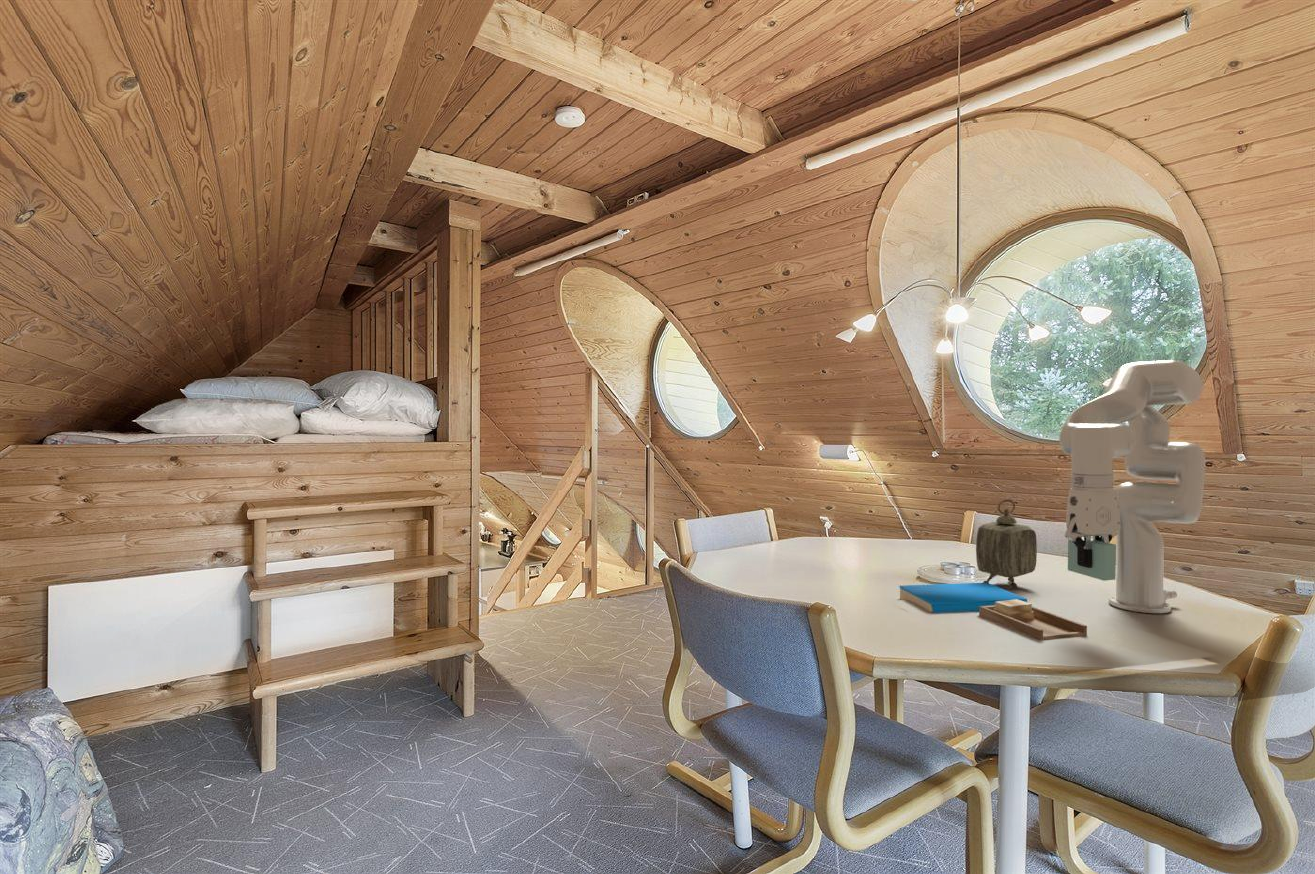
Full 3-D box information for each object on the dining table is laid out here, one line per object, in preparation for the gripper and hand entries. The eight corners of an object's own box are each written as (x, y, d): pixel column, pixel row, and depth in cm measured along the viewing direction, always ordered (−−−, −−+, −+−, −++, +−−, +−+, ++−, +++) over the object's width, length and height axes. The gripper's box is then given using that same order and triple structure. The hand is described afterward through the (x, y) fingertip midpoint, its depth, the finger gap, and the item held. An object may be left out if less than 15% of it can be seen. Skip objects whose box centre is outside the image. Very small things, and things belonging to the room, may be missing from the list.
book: (898, 585, 172) (985, 580, 174) (898, 601, 172) (986, 596, 174) (932, 603, 155) (1029, 597, 157) (933, 621, 155) (1029, 615, 157)
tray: (1021, 615, 155) (1022, 602, 155) (1086, 640, 138) (1086, 625, 138) (979, 619, 153) (979, 606, 153) (1039, 645, 135) (1039, 630, 135)
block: (1115, 579, 136) (1116, 544, 136) (1103, 580, 136) (1104, 545, 135) (1078, 569, 145) (1079, 536, 145) (1067, 570, 144) (1068, 537, 144)
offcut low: (1018, 613, 153) (1019, 606, 153) (1033, 619, 149) (1033, 611, 149) (993, 616, 152) (993, 608, 152) (1008, 621, 147) (1008, 614, 147)
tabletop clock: (1009, 580, 190) (1009, 496, 189) (1039, 587, 182) (1039, 499, 181) (975, 586, 184) (976, 499, 183) (1004, 593, 175) (1005, 502, 175)
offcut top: (1016, 606, 153) (1016, 599, 153) (1031, 611, 149) (1031, 603, 149) (995, 609, 151) (995, 601, 151) (1009, 614, 147) (1009, 606, 147)
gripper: (1075, 485, 134) (1075, 572, 134) (1138, 482, 138) (1138, 566, 138) (1046, 482, 141) (1046, 564, 142) (1106, 478, 145) (1106, 559, 145)
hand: (1091, 565), depth 140 cm, fingers closed on block, 3 cm apart
